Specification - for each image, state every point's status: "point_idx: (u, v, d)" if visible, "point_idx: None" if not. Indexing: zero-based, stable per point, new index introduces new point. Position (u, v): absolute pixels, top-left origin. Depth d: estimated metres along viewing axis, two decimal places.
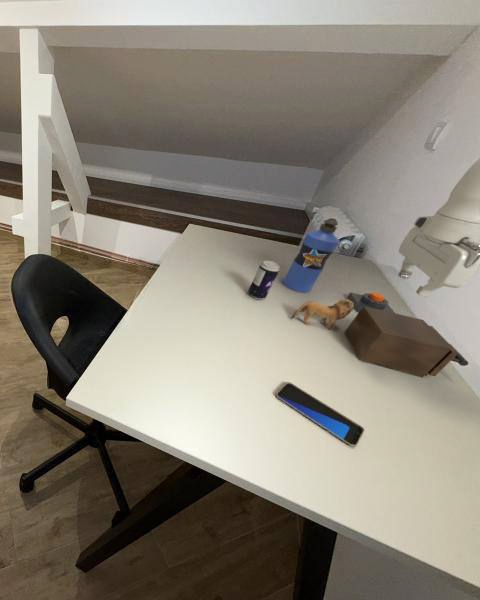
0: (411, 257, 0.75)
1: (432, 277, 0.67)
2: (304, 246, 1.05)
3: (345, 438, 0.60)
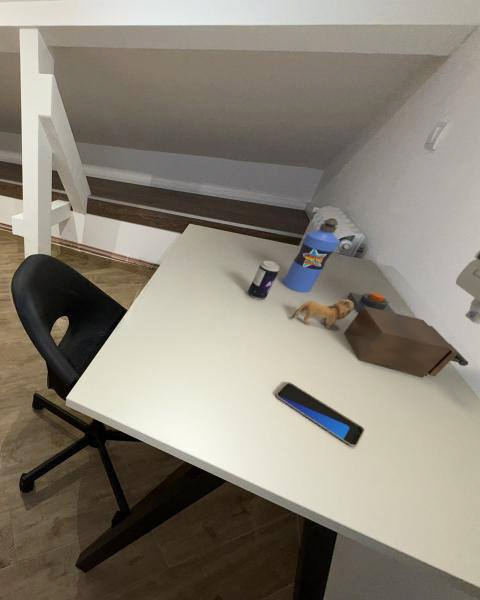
0: (473, 291, 0.73)
1: None
2: (304, 246, 1.05)
3: (345, 438, 0.60)
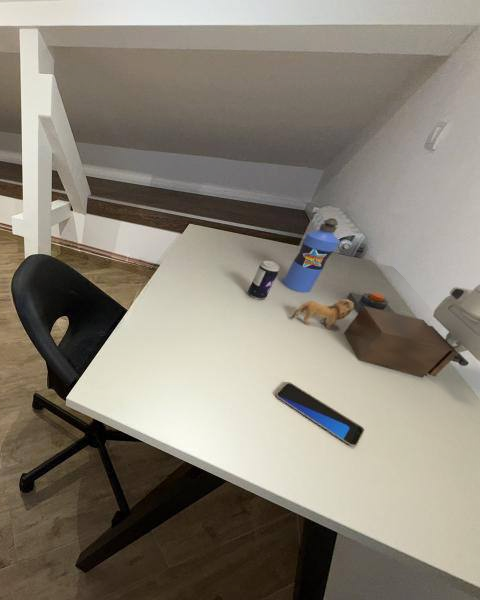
0: (447, 325, 0.78)
1: (471, 352, 0.70)
2: (304, 246, 1.05)
3: (345, 438, 0.60)
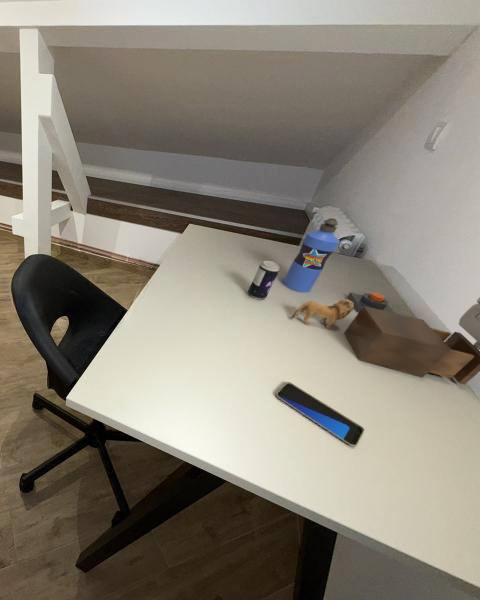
0: (475, 334, 0.77)
1: None
2: (304, 246, 1.05)
3: (345, 438, 0.60)
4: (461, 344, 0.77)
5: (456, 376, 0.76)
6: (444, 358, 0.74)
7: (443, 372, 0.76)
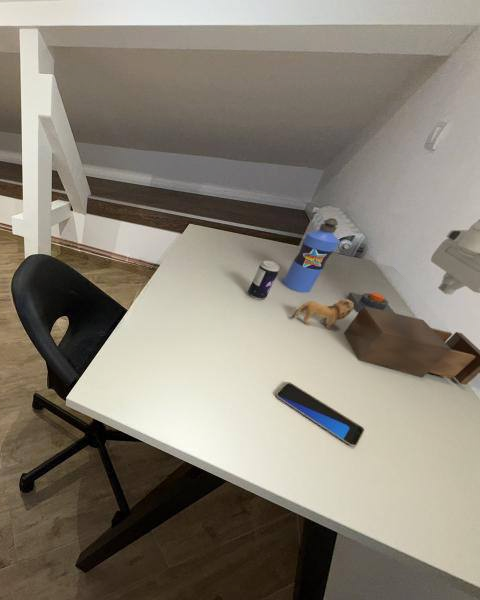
0: (444, 266, 0.83)
1: (467, 285, 0.76)
2: (304, 246, 1.05)
3: (345, 438, 0.60)
4: (462, 344, 0.77)
5: (457, 376, 0.76)
6: (445, 358, 0.74)
7: (444, 372, 0.76)
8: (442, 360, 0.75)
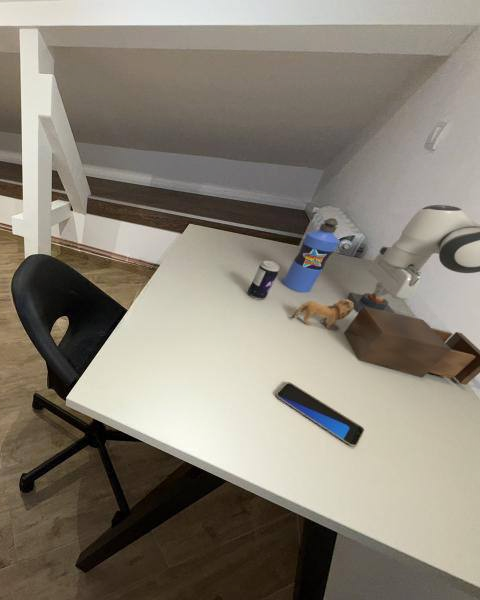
0: (377, 276, 1.01)
1: (389, 292, 0.94)
2: (304, 246, 1.05)
3: (345, 438, 0.60)
4: (462, 344, 0.77)
5: (457, 376, 0.76)
6: (445, 358, 0.74)
7: (444, 372, 0.76)
8: (442, 360, 0.75)
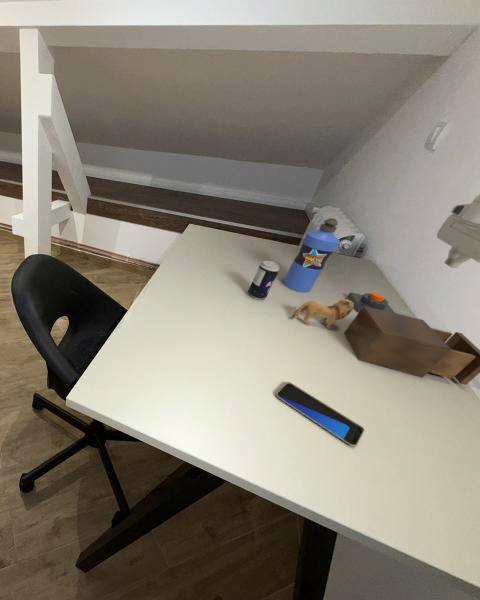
0: (450, 241, 0.85)
1: (471, 256, 0.77)
2: (304, 246, 1.05)
3: (345, 438, 0.60)
4: (462, 344, 0.77)
5: (457, 376, 0.76)
6: (445, 358, 0.74)
7: (444, 372, 0.76)
8: (442, 360, 0.75)
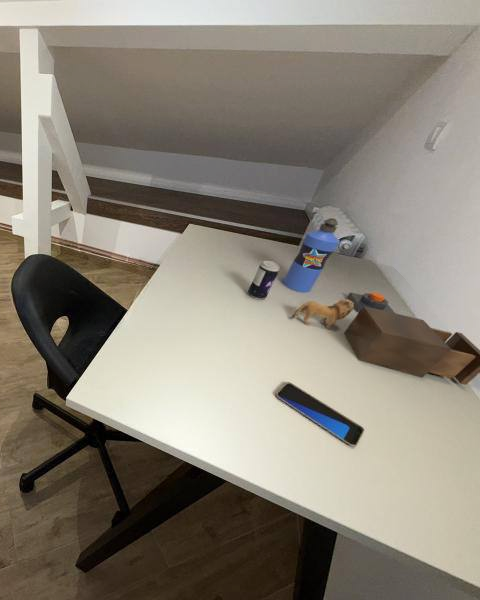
0: None
1: None
2: (304, 246, 1.05)
3: (345, 438, 0.60)
4: (462, 344, 0.77)
5: (457, 376, 0.76)
6: (445, 358, 0.74)
7: (444, 372, 0.76)
8: (442, 360, 0.75)
